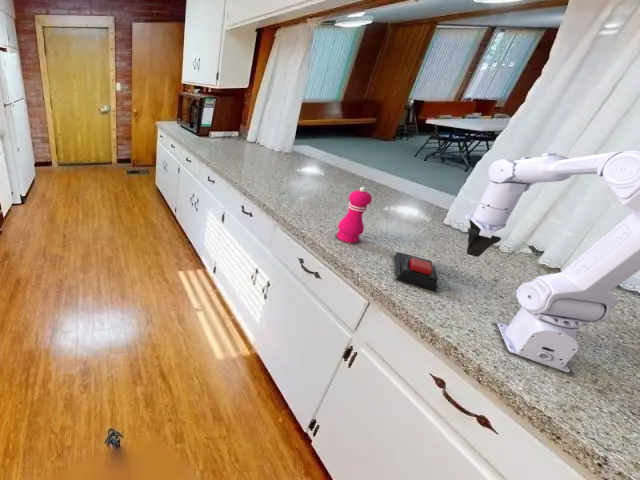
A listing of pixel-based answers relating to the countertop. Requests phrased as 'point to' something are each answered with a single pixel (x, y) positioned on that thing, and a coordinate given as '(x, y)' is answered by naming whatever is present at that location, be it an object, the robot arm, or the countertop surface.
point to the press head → (420, 266)
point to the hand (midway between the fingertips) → (472, 249)
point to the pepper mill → (354, 216)
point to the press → (414, 273)
